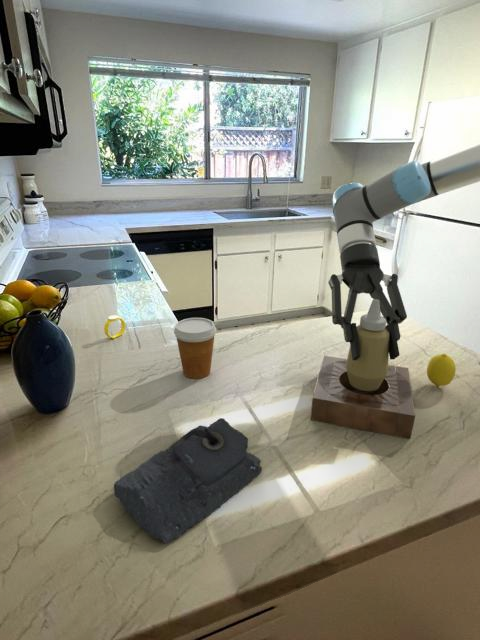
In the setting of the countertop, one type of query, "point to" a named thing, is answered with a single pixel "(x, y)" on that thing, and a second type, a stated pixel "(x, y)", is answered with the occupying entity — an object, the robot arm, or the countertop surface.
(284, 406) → the countertop surface
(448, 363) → the lemon
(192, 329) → the disposable coffee cup
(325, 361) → the holder
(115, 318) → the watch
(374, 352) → the squeeze bottle
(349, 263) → the robot arm
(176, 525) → the iron doorstop weight
